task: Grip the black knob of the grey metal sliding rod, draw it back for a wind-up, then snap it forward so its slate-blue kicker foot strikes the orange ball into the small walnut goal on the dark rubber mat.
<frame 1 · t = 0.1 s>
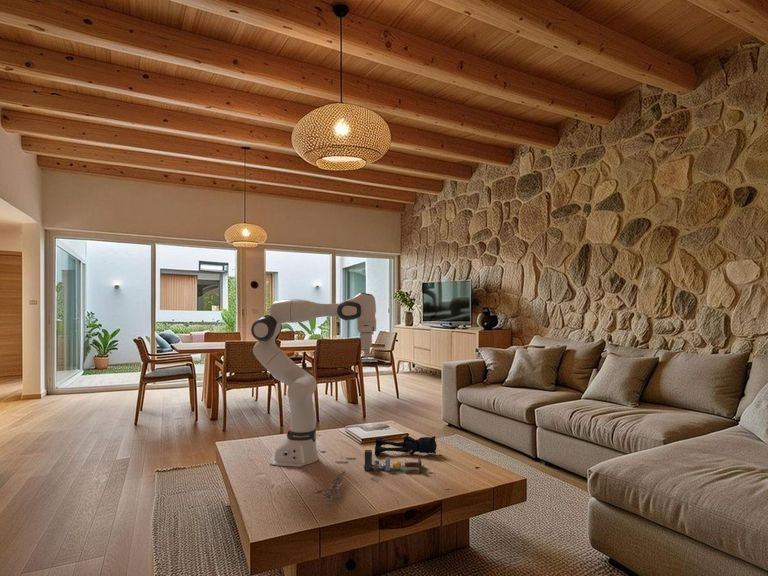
hand: (367, 356, 214), 48 cm above the table, fingers open, 8 cm apart
toy: (405, 455, 218), on the table
carved scroll ornament: (334, 497, 173), on the table
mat: (408, 469, 199), on the table
ball: (397, 465, 199), point 2 cm above the table, touching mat
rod: (376, 460, 199), point 4 cm above the table, slide at 0.0 cm
bushings: (376, 470, 199), on the table
goal: (411, 469, 199), resting on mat
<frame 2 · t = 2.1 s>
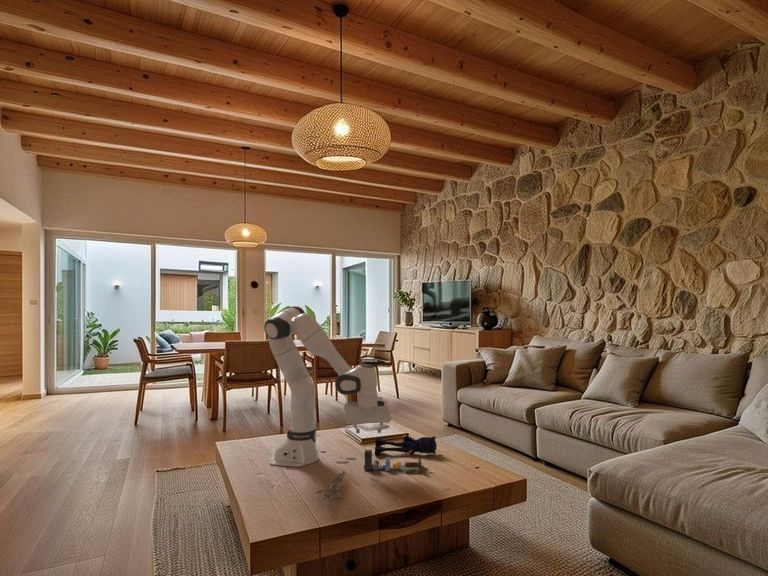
hand: (368, 432, 200), 16 cm above the table, fingers open, 8 cm apart
nothing on the table moved.
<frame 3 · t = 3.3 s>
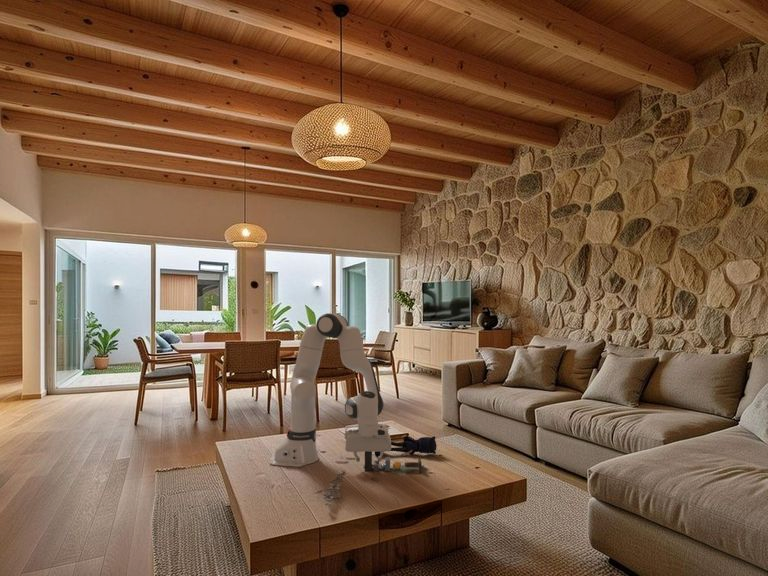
hand: (368, 461, 200), 4 cm above the table, fingers open, 8 cm apart
nothing on the table moved.
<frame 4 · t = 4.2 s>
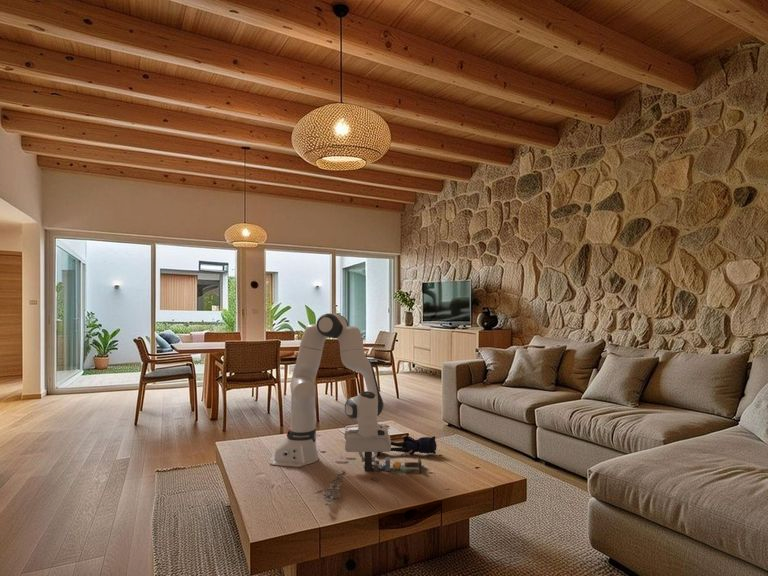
hand: (368, 461, 200), 4 cm above the table, fingers closed on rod, 3 cm apart
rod: (376, 460, 199), point 4 cm above the table, slide at 0.0 cm, touching gripper
everything else where it was.
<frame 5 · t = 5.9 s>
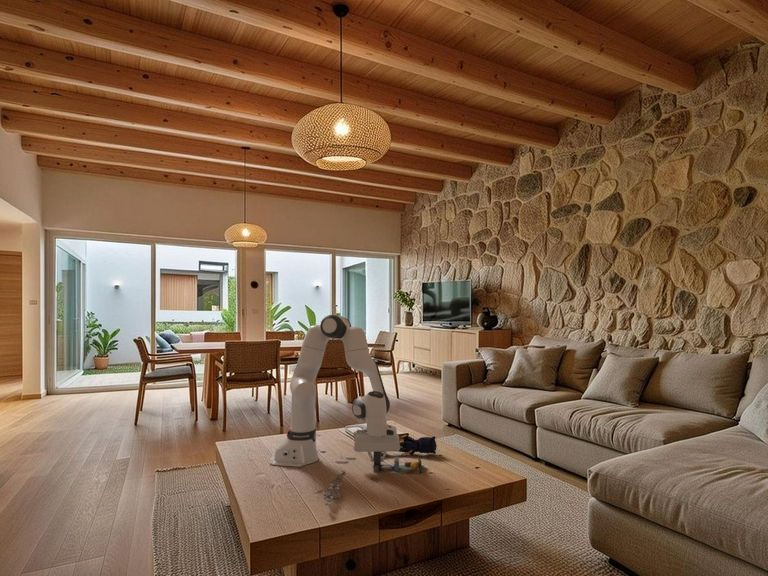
hand: (377, 461, 199), 4 cm above the table, fingers closed on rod, 3 cm apart
ball: (414, 465, 199), point 2 cm above the table, tilted 123°, touching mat
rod: (385, 460, 199), point 4 cm above the table, slide at 3.9 cm, touching gripper
everything else where it was.
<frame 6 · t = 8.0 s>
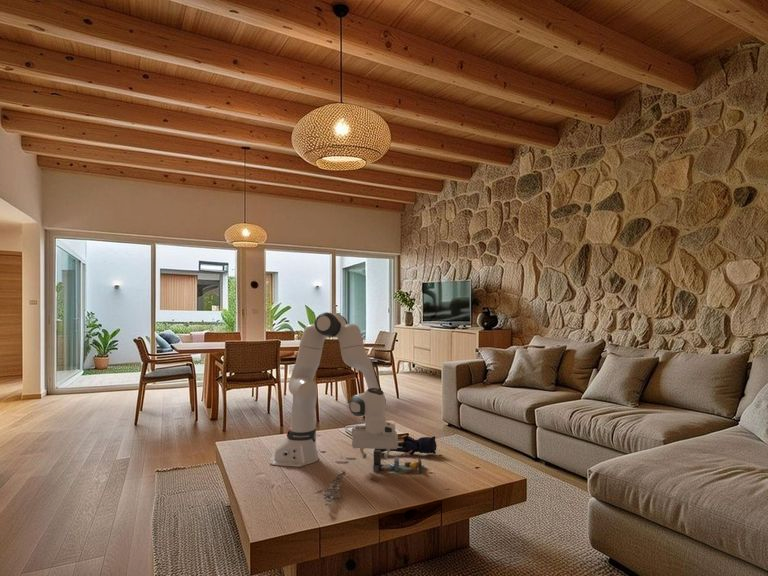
hand: (375, 458, 199), 5 cm above the table, fingers open, 8 cm apart
ball: (414, 465, 199), point 2 cm above the table, tilted 132°, touching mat
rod: (385, 460, 199), point 4 cm above the table, slide at 3.9 cm
everything else where it was.
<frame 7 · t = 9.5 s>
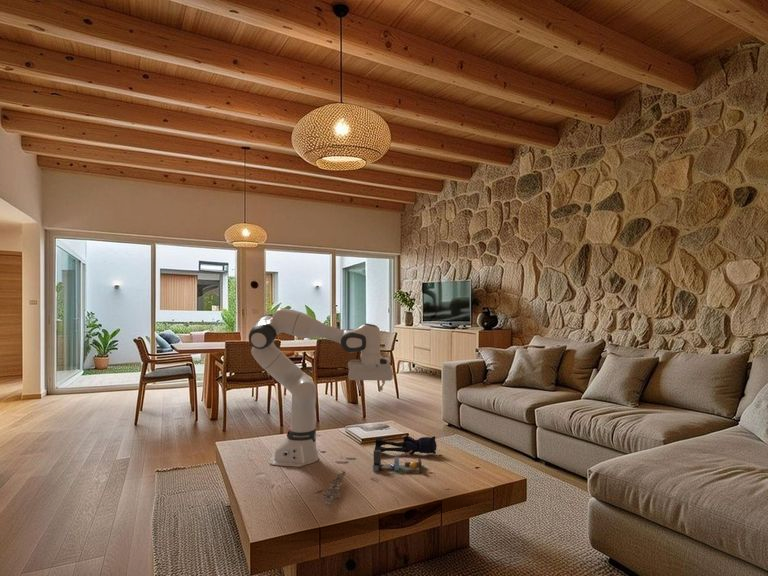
hand: (370, 390, 206), 34 cm above the table, fingers open, 8 cm apart
ball: (413, 465, 199), point 2 cm above the table, tilted 139°, touching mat
everything else where it was.
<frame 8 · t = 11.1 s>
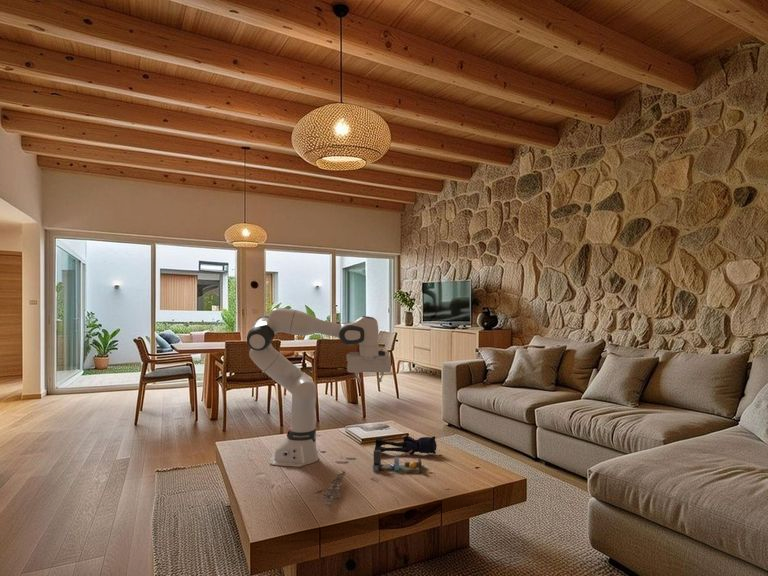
hand: (369, 382, 207), 37 cm above the table, fingers open, 8 cm apart
ball: (413, 465, 199), point 2 cm above the table, tilted 145°, touching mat
everything else where it was.
at the end: ball inside the target area on the goal (0.8 cm from its centre), point 1.7 cm above the goal's base; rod slide at 3.9 cm; the gripper is holding nothing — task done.
